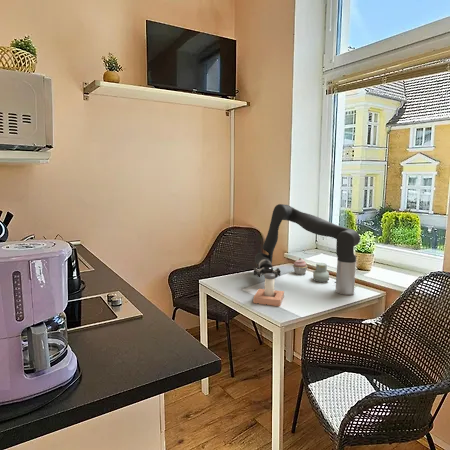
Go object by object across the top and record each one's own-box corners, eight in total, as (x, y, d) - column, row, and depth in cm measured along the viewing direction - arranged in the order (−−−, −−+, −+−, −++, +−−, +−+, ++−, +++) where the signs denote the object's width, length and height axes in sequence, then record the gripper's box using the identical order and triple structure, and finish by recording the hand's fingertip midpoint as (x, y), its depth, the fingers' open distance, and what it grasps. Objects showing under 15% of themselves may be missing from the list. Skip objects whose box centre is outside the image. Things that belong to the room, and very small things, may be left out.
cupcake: (289, 271, 230) (290, 256, 229) (303, 270, 232) (304, 255, 231) (296, 276, 221) (296, 260, 220) (310, 275, 224) (311, 259, 222)
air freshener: (312, 277, 220) (313, 261, 218) (327, 278, 218) (328, 261, 217) (313, 283, 209) (314, 266, 207) (328, 284, 208) (329, 266, 206)
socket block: (284, 296, 187) (284, 291, 186) (280, 306, 175) (280, 300, 174) (258, 294, 191) (259, 288, 190) (253, 303, 178) (253, 297, 178)
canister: (275, 298, 184) (276, 273, 182) (273, 302, 180) (274, 276, 177) (264, 297, 186) (265, 272, 184) (262, 301, 181) (263, 275, 179)
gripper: (253, 260, 207) (254, 268, 191) (278, 260, 207) (281, 269, 191) (252, 273, 209) (254, 282, 193) (277, 273, 208) (281, 283, 192)
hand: (267, 275), depth 192 cm, fingers open, 8 cm apart
